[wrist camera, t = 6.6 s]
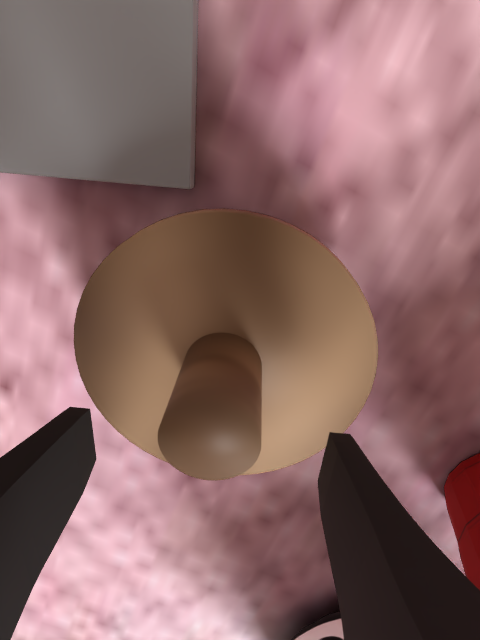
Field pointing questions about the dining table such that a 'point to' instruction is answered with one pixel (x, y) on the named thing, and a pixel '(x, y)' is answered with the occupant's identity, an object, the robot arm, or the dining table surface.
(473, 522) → the plastic cup
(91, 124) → the mat
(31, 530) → the robot arm
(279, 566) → the dining table surface
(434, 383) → the dining table surface
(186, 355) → the lid
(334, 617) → the white black patterned jar
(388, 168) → the dining table surface
